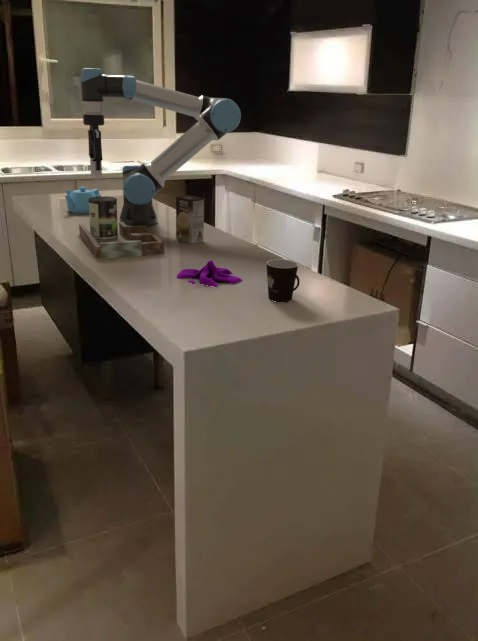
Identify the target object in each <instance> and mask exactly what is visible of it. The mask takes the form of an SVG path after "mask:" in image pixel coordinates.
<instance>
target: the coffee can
mask: <svg viewBox="0 0 478 641" xmlns="http://www.w3.org/2000/svg"><path fill="white" fill-rule="evenodd" d="M88 201H89V214H88V215H89V232H90V233H91V235H92V236H93V237H94V239H95V240H113V239H117V238H118V237H119V234H118V233H119V229H118V228H119V225H118V206H117V205H118V204H117V201H118V198H116V197H113V196H101V197H91V198H88Z"/></svg>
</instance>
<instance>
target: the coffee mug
mask: <svg viewBox="0 0 478 641" xmlns="http://www.w3.org/2000/svg"><path fill="white" fill-rule="evenodd" d="M265 264H266V279H267V293H268V294H267V295H268V296H267V297H268V300H269V299H270V301H271V300H273V301H276V302H275V303H279V302H285V303H289V302H288V301H290V300H291V301H292V300H293V296H294V295H293V294H294V292H295V291H296V290H297V289H298V288H299V286H300V278H299V275H297V272H298V267H299V263H298V262H297V261H294V260H290V259H281V258H279V259H270V260H267V261H266V263H265ZM296 282H297V283H296ZM295 283H296V284H295ZM295 285H296V286H295ZM273 301H272V302H273ZM291 301H290V302H291Z"/></svg>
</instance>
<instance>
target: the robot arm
mask: <svg viewBox="0 0 478 641" xmlns="http://www.w3.org/2000/svg"><path fill="white" fill-rule="evenodd" d="M80 85H81V88H80V89H81V100H82V102H81V103H80V106H81V107H82V112H83V113H84V114H83V115H82V121H83V122H82V123H83V125H84V126H89V129H87V136H88V156H89V158H90V159H89V162H90V177H94V180H103V170H102V168H103V166H102V161H103V150H102V148H103V146H102V131H101V130H100V128H99V126H100V127H101V126H104V125H105V115H104V113H105V107H104V106H105V104H104V103H105V102H104V97H105V98H124V99H126V100H131V101H136V102H139V103H142V104H145V105H148V106H153V107H157V108H161V109H163V110H168V111H171V112H176V113H179V114H182V115H186V116H189V117H193V118H194V119H195V121H197V122H196V123H194V124H193V125H192V126H191V127H190V128H189V129H188V130H187V131H185V132H184V133H183V134H182V135H181V136H180V137H178V138H177V139H176V140H174V142H173V143H171V144H170V145H169V146H168V147H167V148H165V149H164V150H163V151H162V152H161V153H160V154H158V155H157V156H156V157H155V158H154V159H152V161H150V162H143V163H142V164H141V165H124V166H122V171H121V174H122V191H123V192H122V194H123V205H122V208H121V213H120V215H119V222H124V223H125V224H126V225H127V226H139V225H145V226H146V227H147V226H153V225H156V224H157V223H158V216H157V213H156V210H155V208H154V204H153V199H154V197H155V195H156V194H157V193H158V192H159V191H161V190H162V189H163V188H164V187H165V181H166V180H168V179H169V178H170V177H171V176H172V175H173V174H174V173H176V172H177V171H178V170H179V169H180V168H181V167H182V166H184V165H185V164H186V163H187V162H189V161H190V160H191V159H192V158H193V157H195V155H197V154H198V153H199V152H200V151H201V150H203V148H205V147H207V145H208V144H209V143H211V142H212V141H220V140H221V139H222V138H223V137H224V136H225V135H226V134H229V133H230V132H232V131H234V130H235V129H237V128H238V127H239V124H240V122H241V119H242V113H241V109H240V107H239V105H238V104H237V103H236V102H235V101H234V100H233V99H230V98H226V97H210V96H206V95H202V94H201V95H200V96H195V95H193V94H188V93H185V92H181V91H178V90H174V89H170V88H167V87H163V86H160V85H157V84H153V83H149V82H146V81H142V80H138V79H137V77H135V76H134V75H128V74H125V75H124V74H123V75H122V74H114V75H113V74H104V73H103V70H102V69H101V68H93V67H92V68H91V67H84V68H82V69H81V70H80Z"/></svg>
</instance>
